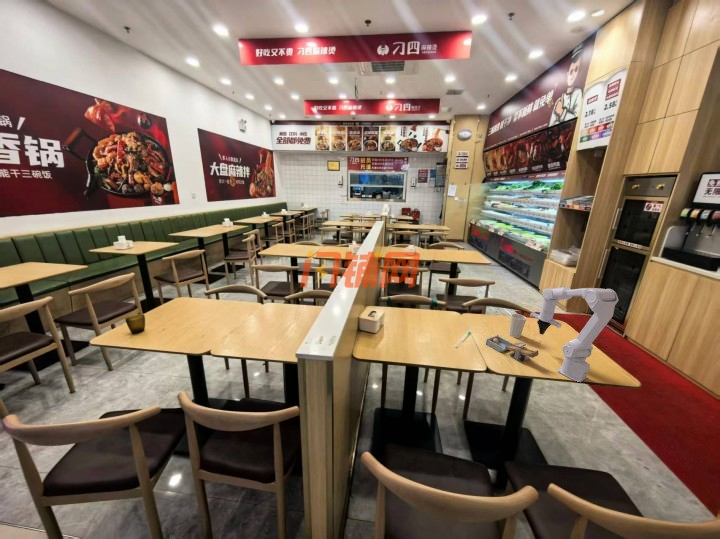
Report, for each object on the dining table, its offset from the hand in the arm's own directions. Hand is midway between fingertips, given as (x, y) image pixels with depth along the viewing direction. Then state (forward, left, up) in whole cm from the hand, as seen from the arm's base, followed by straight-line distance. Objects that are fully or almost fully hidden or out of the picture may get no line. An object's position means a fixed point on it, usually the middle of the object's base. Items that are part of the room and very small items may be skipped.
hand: (541, 333), depth 149 cm
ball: (+14, +17, -8) cm, 23 cm away
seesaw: (0, +14, -6) cm, 15 cm away
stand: (0, +17, -9) cm, 19 cm away
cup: (+15, -3, -10) cm, 18 cm away
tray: (+12, +17, -9) cm, 23 cm away
